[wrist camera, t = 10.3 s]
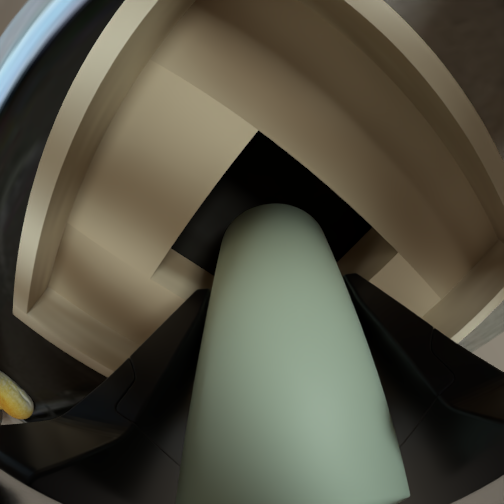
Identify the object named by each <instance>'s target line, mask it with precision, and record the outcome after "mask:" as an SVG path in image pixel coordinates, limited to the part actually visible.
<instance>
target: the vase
mask: <svg viewBox="0 0 504 504" xmlns="http://www.w3.org/2000/svg"><path fill="white" fill-rule="evenodd" d="M2 417H3V413H2V409H0V425H1V423H2Z"/></svg>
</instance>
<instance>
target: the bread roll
mask: <svg viewBox="0 0 504 504" xmlns="http://www.w3.org/2000/svg"><path fill="white" fill-rule="evenodd" d="M0 409H3V410H4V411H5V412H6V413H8V414H9V415H10V416H12V417H14V418H17V419H26V418H28V417H29V416H31V415H32V413H33V409H34V405H33V401H32V399H31V398H30V396H29V395H28V394H27V393H26V392H25V391H24V390H23V389H22V388H21V387H20V386H19V385H18V384H17V383H16V382H14V381H13V380H12V379H11V378H10V377H9V376H7V375H6V374H5V373H3V372H2V371H0Z"/></svg>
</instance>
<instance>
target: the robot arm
mask: <svg viewBox="0 0 504 504" xmlns="http://www.w3.org/2000/svg"><path fill="white" fill-rule="evenodd" d="M343 280H344V282H345V285H346V287H347V290H348V292H349V295H350V298H351V300H352V303H353V305H354V308H355V311H356V313H357V316H358V319H359V321H360V324H361V327H362V329H363V332H364V335H365V338H366V341H367V343H368V346H369V349H370V352H371V355H372V358H373V361H374V364H375V367H376V370H377V373H378V376H379V379H380V382H381V385H382V388H383V392H384V395H385V398H386V401H387V405H388V408H389V412H390V415H391V419H392V422H393V426H394V429H395V433H396V437H397V440H398V444H399V448H400V452H401V456H402V460H403V464H404V469H405V473H406V477H407V482H408V487H409V491H410V497H408V498H407V499H405V500H404V501H402V502H400V503H398V504H504V372H502V371H501V370H499V369H497V368H496V367H494V366H492V365H491V364H489V363H487V362H486V361H484V360H483V359H481V358H479V357H478V356H476V355H474V354H473V353H471V352H470V351H468V350H466V349H465V348H463V347H462V346H460V345H459V344H457V343H456V342H454V341H453V340H451V339H450V338H448V337H447V336H446V335H444V334H443V333H441V332H440V331H439V330H437V329H436V328H434V329H433V326H432V325H430V324H429V323H428V322H426V321H425V320H423V319H422V318H421V317H419V316H418V315H416V314H415V313H414V312H412V311H411V310H409V309H408V308H407V307H405V306H404V305H402V304H401V303H399V302H398V301H397V300H395V299H394V298H392V297H391V296H389V295H388V294H387V293H385V292H384V291H382V290H381V289H379V288H378V287H376V286H375V285H373V284H372V283H371V282H369V281H368V280H366V279H365V278H363V277H362V276H360V275H359V274H357V273H351V274H345V275H344V276H343ZM210 295H211V290H210V289H209V288H206V289H197V290H196V291H195V292H194V293H193V294H192V295H191V296H190V297H189V298H188V299H187V300H186V301H185V302H184V303H183V304H182V305H181V306H180V307H179V308H178V309H177V310H176V311H175V312H173V313H172V314H171V315H170V316H169V317H168V318H167V319H166V320H165V321H164V322H163V323H162V324H161V325H160V326H159V327H158V328H157V329H156V330H155V331H154V332H153V333H152V334H151V335H150V336H149V337H148V338H147V339H146V340H145V341H144V342H143V343H142V344H141V345H140V346H139V348H138V349H137V350H136V351H135V352H134V353H133V354H132V355H131V356H130V358H127V359H126V360H125V362H124V363H123V364H122V365H121V366H120V367H118V368H117V369H116V370H115V371H114V372H113V373H112V374H111V375H110V376H109V377H108V378H107V379H106V380H105V381H103V382H102V383H101V384H100V385H99V386H98V387H97V388H95V389H94V390H93V391H92V392H91V393H89V394H88V395H87V396H86V397H85V398H83V399H82V400H81V401H80V402H79V403H77V404H76V405H75V406H74V407H73V408H71V409H70V410H69V411H68V412H66V413H65V414H63V415H62V416H60V417H58V418H55V419H52V420H48V421H41V422H32V423H22V424H10V425H0V504H175V503H176V495H177V488H178V480H179V473H180V466H181V459H182V453H183V446H184V440H185V433H186V427H187V421H188V415H189V409H190V403H191V397H192V391H193V385H194V380H195V374H196V368H197V363H198V357H199V352H200V347H201V341H202V336H203V331H204V326H205V320H206V315H207V310H208V305H209V300H210Z"/></svg>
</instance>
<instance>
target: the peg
mask: <svg viewBox="0 0 504 504" xmlns="http://www.w3.org/2000/svg"><path fill="white" fill-rule="evenodd" d="M408 497H410V491H409V487H408V482H407V477H406V473H405V469H404V464H403V460H402V456H401V452H400V448H399V444H398V440H397V437H396V433H395V429H394V426H393V422H392V419H391V415H390V412H389V408H388V405H387V401H386V398H385V395H384V392H383V388H382V385H381V382H380V379H379V376H378V373H377V370H376V367H375V364H374V361H373V358H372V355H371V352H370V349H369V346H368V343H367V341H366V338H365V335H364V332H363V329H362V327H361V324H360V321H359V319H358V316H357V313H356V311H355V308H354V305H353V303H352V300H351V298H350V295H349V292H348V290H347V287H346V285H345V282H344V280H343V277H342V275H341V273H340V270H339V268H338V265H337V263H336V260H335V258H334V256H333V253H332V251H331V249H330V246H329V244H328V242H327V239H326V237H325V235H324V233H323V230H322V229H321V227H320V225H319V224H318V223H317V221H316V220H315V219H314V218H313V217H312V216H311V215H309V214H308V213H306V212H305V211H303V210H301V209H299V208H297V207H294V206H291V205H286V204H278V203H273V204H264V205H259V206H256V207H253V208H251V209H249V210H247V211H245V212H243V213H242V214H240V215H239V216H238V217H237V218H235V220H234V221H233V222H232V223H231V224H230V225H229V227H228V228H227V230H226V232H225V234H224V236H223V239H222V243H221V248H220V252H219V257H218V262H217V266H216V271H215V276H214V281H213V286H212V290H211V295H210V300H209V305H208V310H207V315H206V320H205V326H204V331H203V336H202V341H201V347H200V352H199V357H198V363H197V368H196V374H195V380H194V385H193V391H192V397H191V403H190V409H189V415H188V421H187V427H186V433H185V440H184V446H183V453H182V459H181V466H180V473H179V480H178V488H177V495H176V503H175V504H398V503H400V502H402V501H404V500H405V499H407V498H408Z"/></svg>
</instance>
